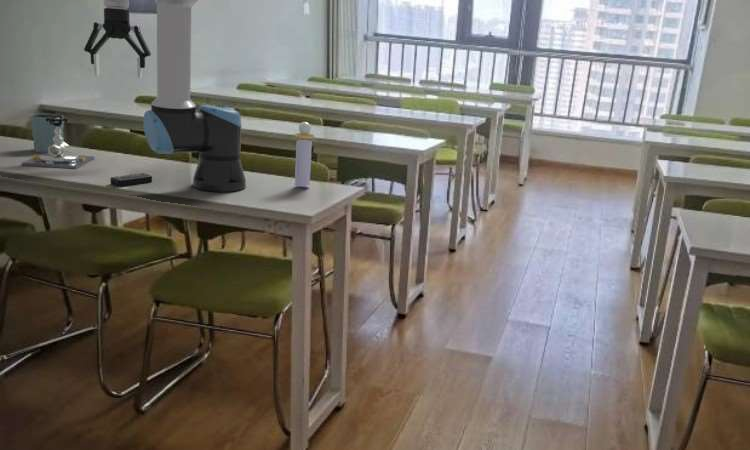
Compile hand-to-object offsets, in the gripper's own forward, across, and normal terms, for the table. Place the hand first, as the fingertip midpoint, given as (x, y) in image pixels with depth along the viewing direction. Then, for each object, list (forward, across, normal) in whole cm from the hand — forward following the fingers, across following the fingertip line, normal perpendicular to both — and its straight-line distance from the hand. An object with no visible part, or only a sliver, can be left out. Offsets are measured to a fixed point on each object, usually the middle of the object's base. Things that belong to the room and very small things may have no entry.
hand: (118, 76), depth 212 cm
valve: (+25, -15, -13) cm, 32 cm away
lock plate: (+27, -15, -13) cm, 33 cm away
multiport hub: (+27, +14, -35) cm, 46 cm away
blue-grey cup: (+27, -25, +4) cm, 37 cm away
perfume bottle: (+27, +62, -27) cm, 73 cm away
